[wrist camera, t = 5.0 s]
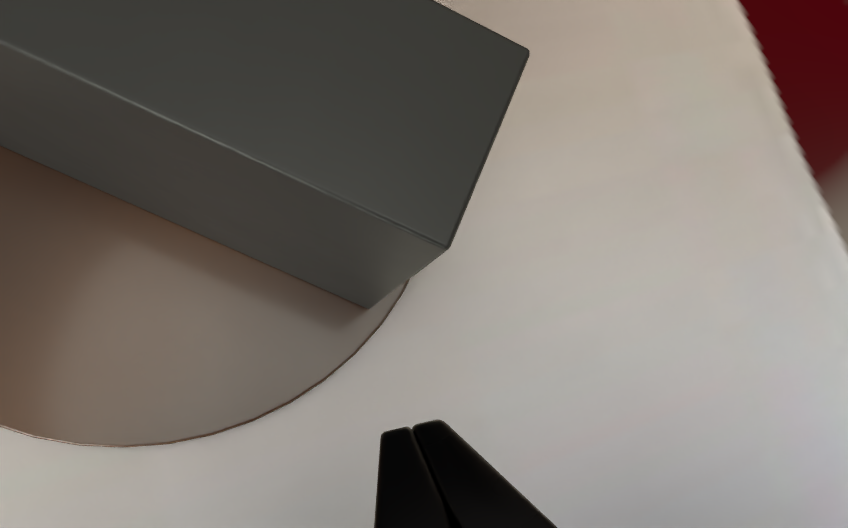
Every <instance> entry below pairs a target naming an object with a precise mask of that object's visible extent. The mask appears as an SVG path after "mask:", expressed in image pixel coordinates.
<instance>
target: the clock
mask: <svg viewBox="0 0 848 528" xmlns="http://www.w3.org/2000/svg"><path fill="white" fill-rule="evenodd" d="M528 58H529V50H528V49H527V48H525V47H523V46H521V45H519V44H517V43H515V42H513V41H511V40H509V39H507V38H505V37H503V36H502V35H500V34H498V33H496V32H494V31H492V30H490V29H488V28H486V27H484V26H482V25H480V24H478V23H476V22H474V21H472V20H470V19H468V18H467V17H465V16H463V15H461V14H459V13H457V12H455V11H453V10H451V9H449V8H447V7H445V6H443V5H441V4H439V3H437V2H435V1H434V0H0V146H2V147H5V148H7V149H9V150H11V151H14V152H16V153H18V154H20V155H23V156H25V157H27V158H29V159H32V160H34V161H36V162H38V163H41V164H43V165H45V166H47V167H50V168H52V169H54V170H56V171H59V172H61V173H63V174H65V175H68V176H70V177H72V178H74V179H77V180H79V181H81V182H83V183H86V184H88V185H90V186H92V187H95V188H97V189H99V190H101V191H104V192H106V193H108V194H110V195H113V196H115V197H117V198H119V199H122V200H124V201H126V202H128V203H131V204H133V205H135V206H137V207H140V208H142V209H144V210H146V211H149V212H151V213H153V214H155V215H158V216H160V217H162V218H164V219H167V220H169V221H171V222H173V223H176V224H178V225H180V226H182V227H185V228H187V229H189V230H191V231H194V232H196V233H198V234H200V235H203V236H205V237H207V238H209V239H212V240H214V241H216V242H218V243H221V244H223V245H225V246H227V247H230V248H232V249H234V250H236V251H239V252H241V253H243V254H245V255H248V256H250V257H252V258H254V259H257V260H259V261H261V262H263V263H266V264H268V265H270V266H272V267H275V268H277V269H279V270H281V271H284V272H286V273H288V274H290V275H293V276H295V277H297V278H299V279H302V280H304V281H306V282H309V283H311V284H313V285H315V286H318V287H320V288H322V289H324V290H327V291H329V292H331V293H333V294H336V295H338V296H340V297H342V298H345V299H347V300H349V301H351V302H354V303H356V304H358V305H360V306H363V307H365V308H367V309H370V308H372V307H373V306H374V305H376V304H377V303H378V302H380V301H381V300H382V299H383V298H385V297H386V296H387V295H389V294H390V293H391V292H393V291H394V290H395V289H397V288H398V287H399V286H401V285H402V284H403V283H404V282H406V281H407V280H408V279H410V278H411V277H412V276H414V275H415V274H416V273H418V272H419V271H420V270H422V269H423V268H424V267H425V266H427V265H428V264H429V263H431V262H432V261H433V260H435V259H436V258H437V257H439V256H440V255H441V254H443V253H444V252H445V251H446V250H448V249H449V248H450V246H451V244H452V241H453V239H454V237H455V234H456V232H457V229H458V227H459V225H460V222H461V220H462V217H463V215H464V212H465V210H466V208H467V205H468V203H469V200H470V198H471V196H472V193H473V191H474V188H475V186H476V184H477V181H478V179H479V176H480V174H481V171H482V169H483V167H484V164H485V162H486V159H487V157H488V155H489V152H490V150H491V147H492V145H493V142H494V140H495V138H496V135H497V133H498V130H499V128H500V126H501V123H502V121H503V118H504V116H505V113H506V111H507V109H508V106H509V104H510V101H511V99H512V97H513V94H514V92H515V89H516V87H517V84H518V82H519V80H520V77H521V75H522V72H523V70H524V68H525V65H526V63H527V60H528Z"/></svg>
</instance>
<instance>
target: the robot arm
mask: <svg viewBox="0 0 848 528" xmlns="http://www.w3.org/2000/svg"><path fill="white" fill-rule="evenodd" d="M374 528H557V527H556V526H555V525H554V524H553V523H552V522H551V521H550V520H549V519H548V518H547V517H546V516H544V515H543V514H542V513H541V512H540V511H539V510H538V509H537V508H536V507H535V506H534V505H533V504H532V503H531V502H530V501H528V500H527V499H526V498H525V497H524V496H523V495H522V494H521V493H520V492H519V491H518V490H517V489H516V488H515V487H514V486H512V485H511V484H510V483H509V482H508V481H507V480H506V479H505V478H504V477H503V476H502V475H501V474H500V473H499V472H498V471H497V470H495V469H494V468H493V467H492V466H491V465H490V464H489V463H488V462H487V461H486V460H485V459H484V458H483V457H482V456H481V455H479V454H478V453H477V452H476V451H475V450H474V449H473V448H472V447H471V446H470V445H469V444H468V443H467V442H466V441H465V440H463V439H462V438H461V437H460V436H459V435H458V434H457V433H456V432H455V431H454V430H453V429H452V428H451V427H450V426H449V425H447V424H446V423H445V422H444V421H442V420H433V421H428V422H424V423H420V424H416V425H414V426H413V428H412V429H411V428H409V427H403V428H399V429H394V430H390V431H386V432H384V433H383V434H382V435H381V441H380V454H379V468H378V482H377V496H376V509H375V523H374Z"/></svg>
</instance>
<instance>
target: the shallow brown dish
mask: <svg viewBox="0 0 848 528" xmlns="http://www.w3.org/2000/svg"><path fill="white" fill-rule="evenodd" d="M409 280H410V279H408V280H407V281H406V282H404V283H403V284H402V285H401V286H399V287H398V288H397V289H395V290H394V291H393V292H391V293H390V294H389V295H387V296H386V297H385V298H383V299H382V300H381V301H380V302H378V303H377V304H376V305H374V306H373V307H372V308H370V309H367V308H365V307H363V306H360V305H358V304H356V303H354V302H351V301H349V300H347V299H345V298H342V297H340V296H338V295H336V294H333V293H331V292H329V291H327V290H324V289H322V288H320V287H318V286H315V285H313V284H311V283H309V282H306V281H304V280H302V279H299V278H297V277H295V276H293V275H290V274H288V273H286V272H284V271H281V270H279V269H277V268H275V267H272V266H270V265H268V264H266V263H263V262H261V261H259V260H257V259H254V258H252V257H250V256H248V255H245V254H243V253H241V252H239V251H236V250H234V249H232V248H230V247H227V246H225V245H223V244H221V243H218V242H216V241H214V240H212V239H209V238H207V237H205V236H203V235H200V234H198V233H196V232H194V231H191V230H189V229H187V228H185V227H182V226H180V225H178V224H176V223H173V222H171V221H169V220H167V219H164V218H162V217H160V216H158V215H155V214H153V213H151V212H149V211H146V210H144V209H142V208H140V207H137V206H135V205H133V204H131V203H128V202H126V201H124V200H122V199H119V198H117V197H115V196H113V195H110V194H108V193H106V192H104V191H101V190H99V189H97V188H95V187H92V186H90V185H88V184H86V183H83V182H81V181H79V180H77V179H74V178H72V177H70V176H68V175H65V174H63V173H61V172H59V171H56V170H54V169H52V168H50V167H47V166H45V165H43V164H41V163H38V162H36V161H34V160H32V159H29V158H27V157H25V156H23V155H20V154H18V153H16V152H14V151H11V150H9V149H7V148H5V147H2V146H0V427H3V428H6V429H9V430H12V431H15V432H18V433H22V434H25V435H28V436H31V437H35V438H40V439H46V440H52V441H57V442H63V443H69V444H74V445H82V446H103V447H137V446H150V445H163V444H172V443H176V442H181V441H186V440H191V439H196V438H201V437H205V436H210V435H214V434H217V433H220V432H223V431H226V430H229V429H232V428H235V427H237V426H240V425H243V424H246V423H249V422H252V421H254V420H256V419H259V418H261V417H263V416H265V415H267V414H269V413H271V412H273V411H275V410H277V409H279V408H281V407H283V406H285V405H287V404H289V403H291V402H293V401H294V400H296V399H297V398H299V397H300V396H302V395H303V394H305V393H306V392H308V391H309V390H311V389H312V388H314V387H316V386H317V385H319V384H320V383H322V382H323V381H325V380H326V379H327V378H328V377H329V376H331V375H332V374H333V373H334V372H335V371H336V370H338V369H339V368H340V367H341V366H342V365H343V364H344V363H346V362H347V361H348V360H349V359H350V358H351V357H353V356H354V355H355V354H356V353H357V352H358V351H359V349H360V348H361V347H362V346H363V345H364V344H365V343H366V342H367V341H368V339H369V338H370V337H371V336H372V335H373V334H374V333H375V332H376V331H377V329H378V328H379V327H380V326H381V325H382V323H383V322H384V320H385V319H386V317H387V316H388V314H389V313H390V311H391V310H392V309H393V307H394V306H395V304H396V303H397V301H398V300H399V298H400V297H401V295H402V293H403V292H404V290H405V288H406V286H407V284H408V282H409Z"/></svg>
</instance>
